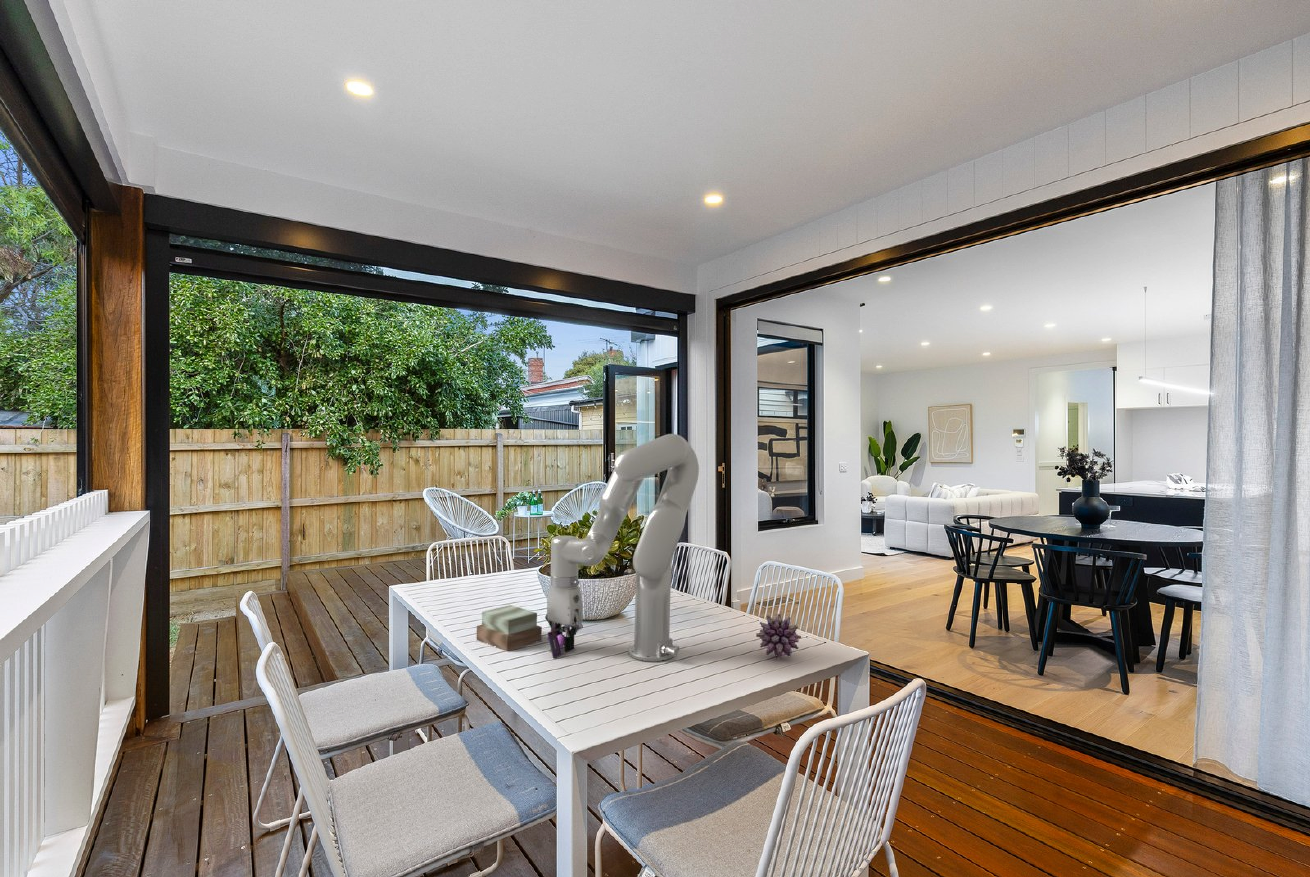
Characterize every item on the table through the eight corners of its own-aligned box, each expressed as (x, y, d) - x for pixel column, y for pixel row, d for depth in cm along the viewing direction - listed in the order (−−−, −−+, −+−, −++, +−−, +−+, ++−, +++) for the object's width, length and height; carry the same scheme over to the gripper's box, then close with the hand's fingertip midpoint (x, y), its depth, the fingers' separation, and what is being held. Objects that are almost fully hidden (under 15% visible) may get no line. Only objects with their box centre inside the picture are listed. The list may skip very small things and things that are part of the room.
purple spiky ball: (786, 669, 162) (787, 623, 162) (747, 657, 170) (748, 613, 170) (808, 658, 171) (809, 614, 171) (770, 647, 179) (771, 605, 179)
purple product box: (550, 632, 167) (570, 623, 175) (535, 635, 170) (556, 627, 177) (556, 657, 166) (576, 648, 174) (541, 660, 169) (562, 651, 176)
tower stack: (541, 640, 181) (542, 612, 181) (507, 651, 171) (507, 621, 171) (510, 630, 189) (511, 603, 189) (476, 639, 180) (477, 611, 180)
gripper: (595, 584, 171) (594, 651, 171) (554, 574, 182) (553, 638, 182) (575, 589, 165) (574, 659, 165) (533, 579, 176) (532, 644, 176)
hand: (563, 647), depth 173 cm, fingers closed on purple product box, 4 cm apart
